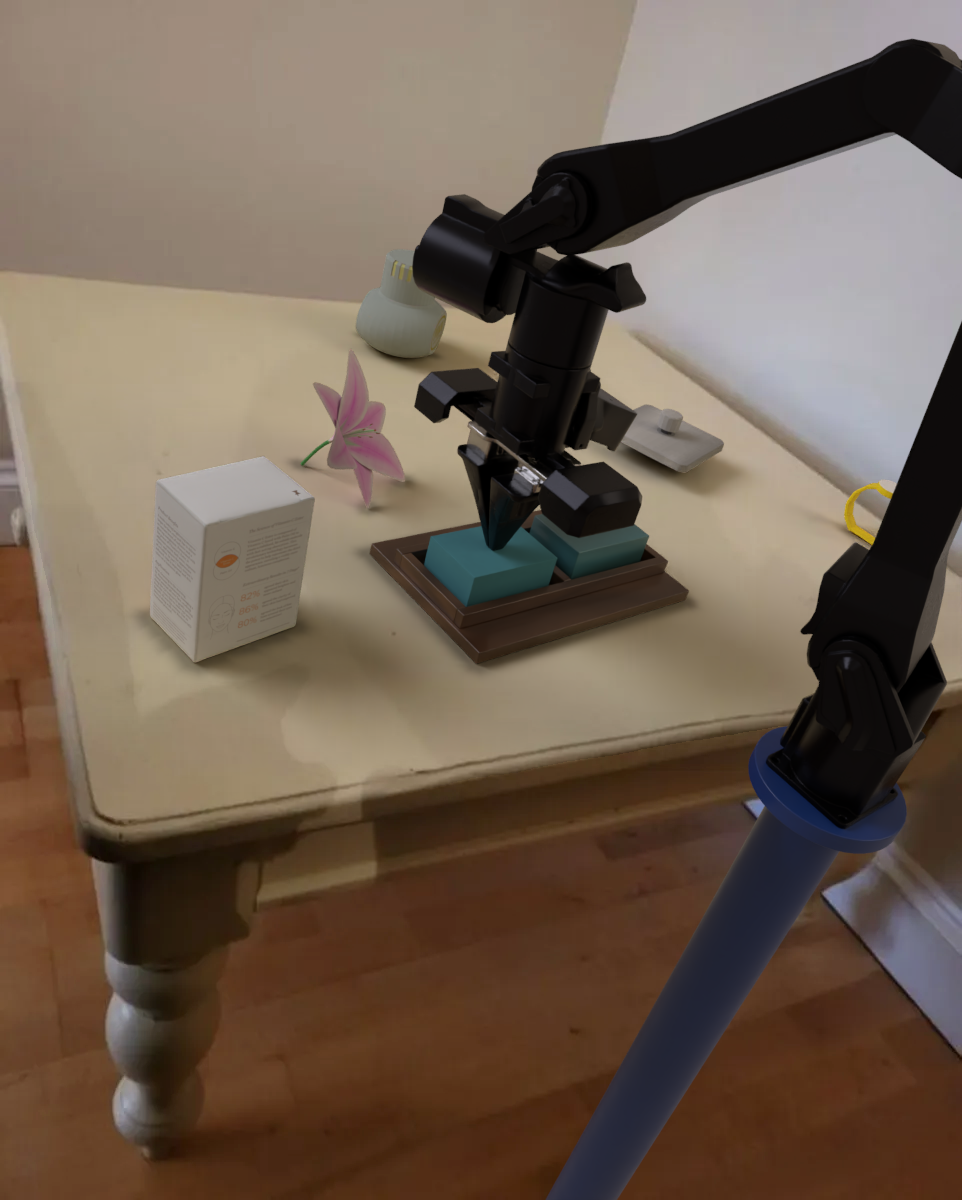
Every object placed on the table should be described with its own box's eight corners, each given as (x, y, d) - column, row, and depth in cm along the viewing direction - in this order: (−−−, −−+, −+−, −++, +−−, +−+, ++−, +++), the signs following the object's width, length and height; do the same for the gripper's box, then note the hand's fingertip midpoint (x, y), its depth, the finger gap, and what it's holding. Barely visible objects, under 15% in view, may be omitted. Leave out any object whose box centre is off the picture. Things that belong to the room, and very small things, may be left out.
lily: (293, 532, 80) (370, 454, 76) (229, 416, 84) (299, 335, 79) (388, 533, 90) (460, 465, 86) (327, 429, 94) (394, 359, 89)
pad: (547, 590, 78) (557, 557, 76) (465, 611, 73) (474, 577, 72) (503, 551, 81) (513, 519, 80) (422, 569, 77) (430, 536, 75)
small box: (250, 584, 72) (266, 453, 66) (297, 628, 69) (318, 495, 63) (145, 616, 66) (153, 476, 60) (192, 666, 64) (205, 524, 58)
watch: (831, 526, 101) (857, 473, 98) (843, 519, 103) (869, 468, 100) (885, 556, 99) (913, 504, 95) (896, 549, 100) (925, 498, 97)
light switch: (676, 491, 100) (694, 445, 97) (593, 447, 103) (608, 402, 101) (717, 465, 107) (735, 422, 104) (638, 425, 111) (653, 383, 108)
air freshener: (375, 322, 118) (390, 235, 112) (443, 342, 117) (462, 256, 112) (346, 353, 108) (361, 260, 103) (420, 375, 108) (439, 283, 103)
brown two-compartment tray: (685, 600, 84) (702, 560, 81) (476, 664, 70) (489, 618, 68) (575, 511, 92) (588, 472, 89) (369, 553, 78) (377, 509, 76)
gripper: (731, 405, 66) (654, 597, 75) (550, 291, 77) (501, 471, 86) (612, 422, 60) (542, 630, 68) (432, 295, 70) (391, 489, 79)
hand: (494, 547), depth 76 cm, fingers closed, pressing on pad
